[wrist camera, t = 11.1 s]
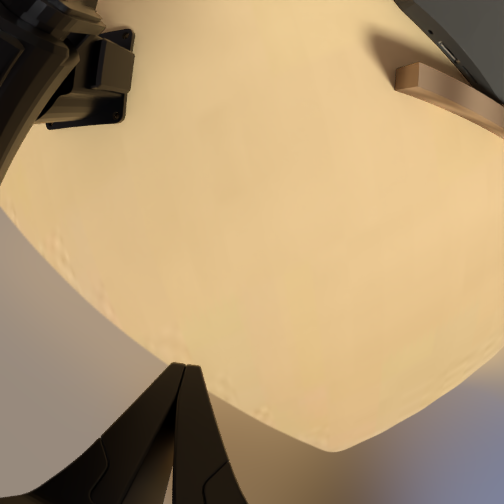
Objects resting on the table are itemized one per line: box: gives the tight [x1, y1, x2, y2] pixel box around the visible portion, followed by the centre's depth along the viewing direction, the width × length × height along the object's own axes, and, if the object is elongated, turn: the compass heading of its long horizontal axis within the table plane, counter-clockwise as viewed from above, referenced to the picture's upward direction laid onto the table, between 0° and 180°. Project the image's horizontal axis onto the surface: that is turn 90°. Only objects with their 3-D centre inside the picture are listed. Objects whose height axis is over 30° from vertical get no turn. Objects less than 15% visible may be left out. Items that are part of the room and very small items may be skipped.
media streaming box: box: [394, 0, 504, 104], centre depth 10 cm, size 15×15×3 cm
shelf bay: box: [395, 62, 504, 139], centre depth 9 cm, size 18×21×3 cm
